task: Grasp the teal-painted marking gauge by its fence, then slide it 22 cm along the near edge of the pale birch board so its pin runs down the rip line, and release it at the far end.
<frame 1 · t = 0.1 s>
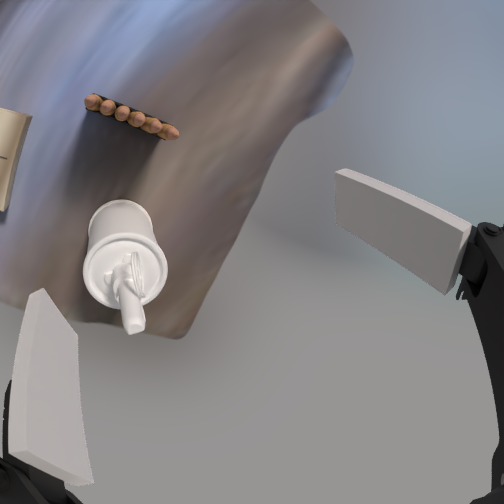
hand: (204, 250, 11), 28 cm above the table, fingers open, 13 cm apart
ammunition clip: (127, 116, 30), on the table
white smoke grenade: (121, 234, 37), on the table
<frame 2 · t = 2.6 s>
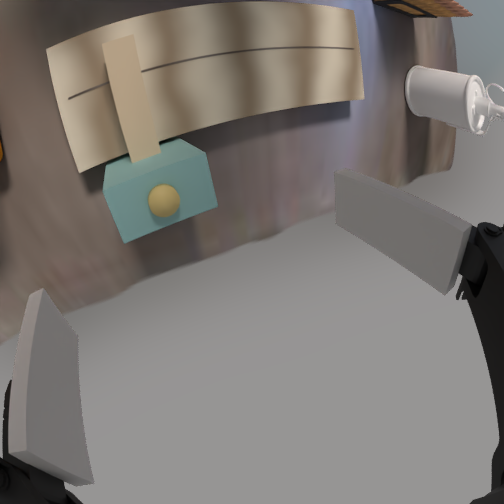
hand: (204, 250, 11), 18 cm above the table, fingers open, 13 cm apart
ammunition clip: (392, 5, 26), on the table
board: (226, 60, 23), on the table
white smoke grenade: (418, 93, 36), on the table
gauge: (146, 166, 25), on the table
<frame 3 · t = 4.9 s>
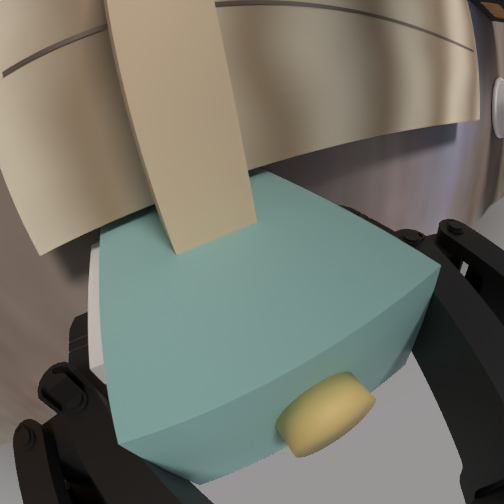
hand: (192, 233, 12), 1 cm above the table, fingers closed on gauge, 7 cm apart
ammunition clip: (478, 3, 14), on the table
board: (334, 29, 11), on the table
white smoke grenade: (498, 110, 24), on the table
gauge: (186, 224, 13), on the table, touching gripper
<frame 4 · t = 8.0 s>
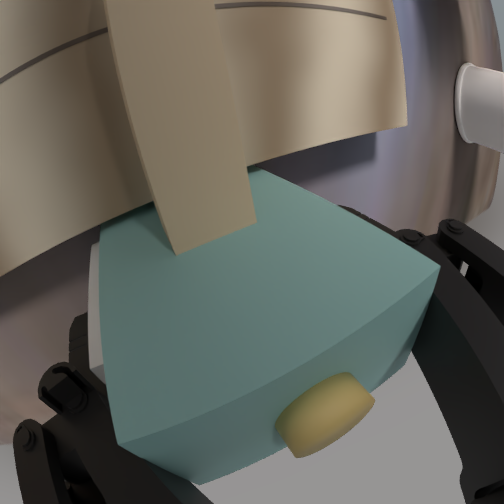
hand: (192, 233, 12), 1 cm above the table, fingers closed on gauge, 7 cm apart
board: (74, 72, 8), on the table
white smoke grenade: (468, 106, 21), on the table
gauge: (186, 224, 13), on the table, touching gripper
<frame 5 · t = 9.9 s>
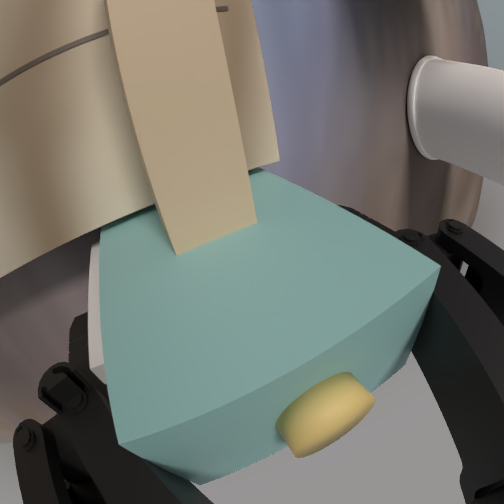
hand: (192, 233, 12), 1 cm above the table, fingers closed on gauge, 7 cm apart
white smoke grenade: (433, 112, 18), on the table
gauge: (186, 224, 13), on the table, touching gripper
when the fingers open (1 cm above the table, at t = 11.1 s): gauge stays where it is, on the table.
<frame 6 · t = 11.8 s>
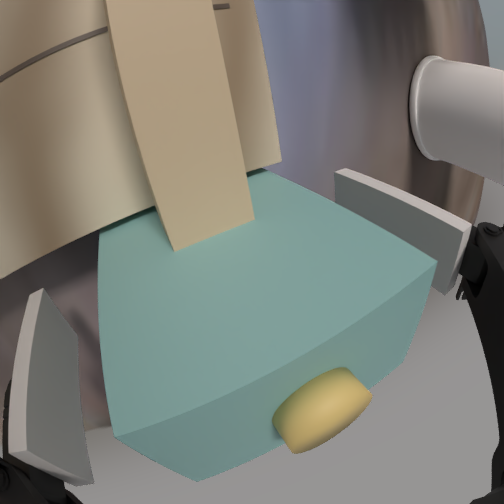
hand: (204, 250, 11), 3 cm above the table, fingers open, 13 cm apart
white smoke grenade: (435, 113, 18), on the table
gauge: (185, 222, 13), on the table
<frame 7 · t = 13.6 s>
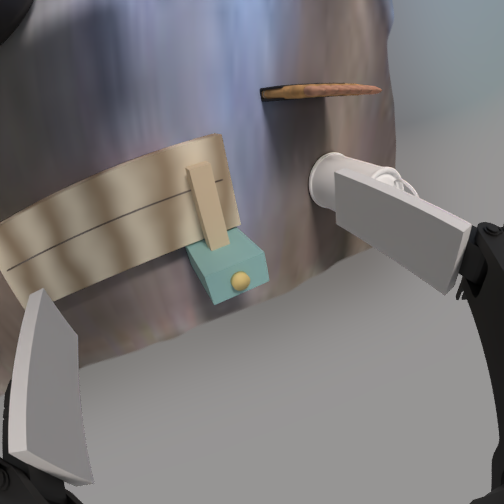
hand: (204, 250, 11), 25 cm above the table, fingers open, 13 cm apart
ammunition clip: (293, 91, 35), on the table
board: (106, 221, 31), on the table
white smoke grenade: (331, 182, 44), on the table
gauge: (210, 243, 39), on the table
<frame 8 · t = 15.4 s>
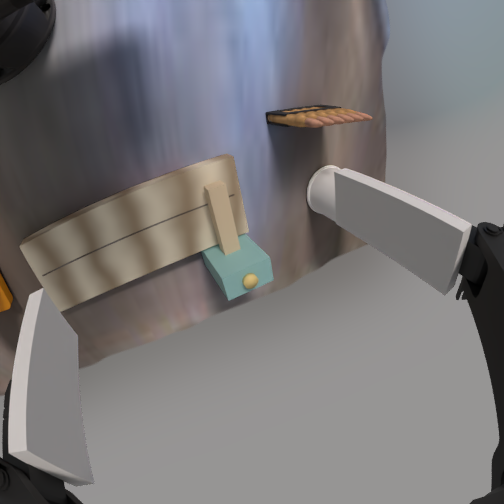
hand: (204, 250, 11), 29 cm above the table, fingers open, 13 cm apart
ammunition clip: (295, 113, 41), on the table
board: (133, 230, 38), on the table
white smoke grenade: (326, 191, 51), on the table
gauge: (222, 246, 46), on the table
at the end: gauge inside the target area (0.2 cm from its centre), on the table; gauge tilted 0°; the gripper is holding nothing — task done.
